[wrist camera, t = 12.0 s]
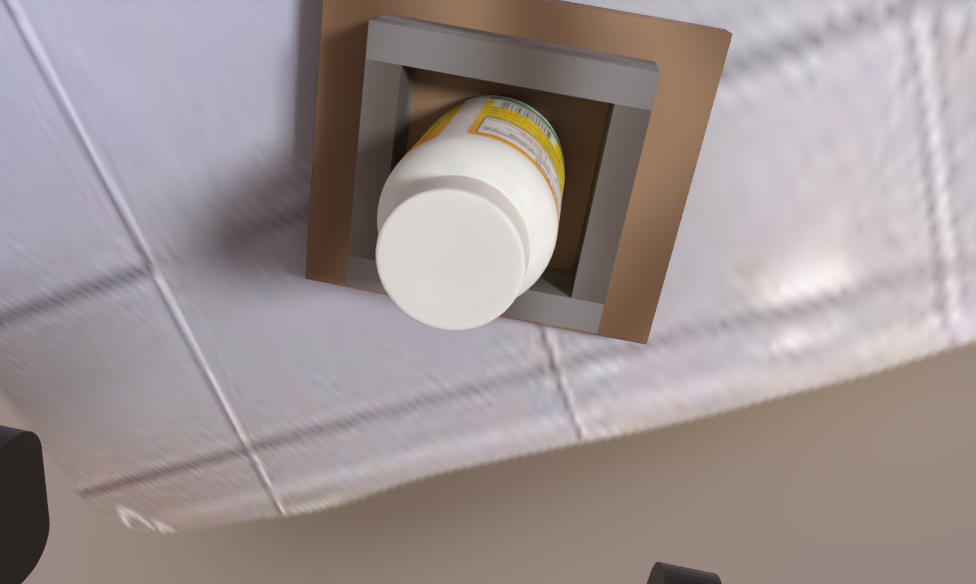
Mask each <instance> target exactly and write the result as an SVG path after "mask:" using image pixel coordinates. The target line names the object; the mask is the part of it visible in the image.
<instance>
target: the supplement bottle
mask: <svg viewBox="0 0 976 584" xmlns="http://www.w3.org/2000/svg"><path fill="white" fill-rule="evenodd" d="M564 183H565V158H564V153H563V149H562V146H561V143H560V141H559V139H558V136H557V134H556V133H555V131H554V129H553V128H552V126H551V125H550V124H549V122H548V121H547V120H546V119H545V118H544V117H543V116H542V115H541V114H540V113H539V112H537V111H536V110H535V109H533V108H532V107H531V106H529V105H527V104H525V103H523V102H521V101H519V100H516V99H513V98H510V97H505V96H498V95H485V96H478V97H473V98H470V99H467V100H464V101H462V102H460V103H458V104H456V105H455V106H453V107H451V108H450V109H449V110H447V111H446V112H445V113H444V114H443V115H442V116H441V117H440V118H439V119H438V120H437V121H436V122H435V123H434V124H433V125H432V126H431V128H430V129H429V130H428V131H427V132H426V133H425V134H424V135H423V136H422V138H421V139H420V140H419V141H418V142H417V143H416V144H415V145H414V146H413V147H412V148H411V149H410V150H409V151H408V152H407V153H406V155H405V156H404V157H403V158H402V159H401V161H400V162H399V163H398V164H397V165H396V167H395V168H394V170H393V171H392V173H391V174H390V176H389V177H388V179H387V181H386V183H385V185H384V188H383V190H382V193H381V196H380V200H379V205H378V212H377V228H378V238H377V244H376V265H377V271H378V274H379V278H380V280H381V282H382V285H383V287H384V289H385V290H386V292H387V293H388V295H389V296H390V298H391V299H392V300H393V302H394V303H395V304H396V305H397V306H398V307H399V308H400V309H401V310H402V311H403V312H404V313H406V314H407V315H409V316H410V317H411V318H413V319H415V320H417V321H419V322H421V323H423V324H425V325H428V326H430V327H434V328H439V329H444V330H467V329H472V328H476V327H479V326H482V325H484V324H486V323H489V322H491V321H493V320H494V319H496V318H497V317H498V316H500V315H501V314H503V313H504V312H505V311H506V310H507V309H508V308H509V306H510V305H511V304H512V303H513V302H514V300H515V299H516V297H518V296H520V295H521V294H523V293H524V292H525V291H526V290H527V289H529V288H530V287H531V286H532V285H533V284H534V283H535V282H536V281H537V280H538V278H539V277H540V276H541V274H542V273H543V272H544V270H545V268H546V267H547V265H548V263H549V261H550V259H551V257H552V254H553V251H554V248H555V244H556V240H557V233H558V226H559V219H560V211H561V202H562V195H563V188H564Z"/></svg>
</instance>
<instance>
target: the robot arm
mask: <svg viewBox="0 0 976 584" xmlns="http://www.w3.org/2000/svg"><path fill="white" fill-rule="evenodd" d="M49 526H50V525H49V512H48V503H47V494H46V484H45V475H44V465H43V455H42V447H41V442H40V440H39V438H38V436H37V435H36V434H35V433H33V432H30V431H25V430H21V429H15V428H10V427H6V426H1V425H0V584H21V583H22V582H23V581H24V580H25V579H26V578H27V577H28V575H29V574H30V573H31V572H32V570H33V569H34V568H35V566H36V564H37V563H38V561H39V559H40V557H41V555H42V553H43V551H44V548H45V545H46V542H47V538H48V533H49ZM647 584H721V581H720V578H719V577H718V575H717V574H715V573H710V572H705V571H700V570H696V569H691V568H685V567H681V566H676V565H671V564H666V563H661V562H657V563H655V565H654V566H653V568H652V570H651V573H650V576H649V579H648V582H647Z"/></svg>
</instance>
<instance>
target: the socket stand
mask: <svg viewBox="0 0 976 584" xmlns="http://www.w3.org/2000/svg"><path fill="white" fill-rule="evenodd" d="M731 37H732V33H730V32H728V31H727V30H725V29H720V28H714V27H709V26H703V25H697V24H692V23H686V22H680V21H675V20H669V19H663V18H658V17H652V16H646V15H641V14H635V13H629V12H624V11H618V10H612V9H607V8H601V7H595V6H590V5H584V4H578V3H573V2H567V1H561V0H323V6H322V22H321V38H320V54H319V70H318V86H317V102H316V118H315V134H314V150H313V166H312V182H311V198H310V214H309V230H308V246H307V262H306V278H305V279H310V280H315V281H320V282H326V283H331V284H336V285H341V286H346V287H351V288H357V289H362V290H367V291H372V292H377V293H382V294H388V293H387V292H386V290H385V289H384V287H383V285H382V282H381V280H380V278H379V274H378V271H377V265H376V244H377V238H378V228H377V212H378V205H379V200H380V196H381V193H382V190H383V188H384V185H385V183H386V181H387V179H388V177H389V176H390V174H391V173H392V171H393V170H394V168H395V167H396V165H397V164H398V163H399V162H400V161H401V159H402V158H403V157H404V156H405V155H406V153H407V152H408V151H409V150H410V149H411V148H412V147H413V146H414V145H415V144H416V143H417V142H418V141H419V140H420V139H421V138H422V136H423V135H424V134H425V133H426V132H427V131H428V130H429V129H430V128H431V126H432V125H433V124H434V123H435V122H436V121H437V120H438V119H439V118H440V117H441V116H442V115H443V114H444V113H445V112H446V111H447V110H449V109H450V108H451V107H453V106H455V105H456V104H458V103H460V102H462V101H464V100H467V99H470V98H473V97H478V96H485V95H498V96H505V97H510V98H513V99H516V100H519V101H521V102H523V103H525V104H527V105H529V106H531V107H532V108H533V109H535V110H536V111H537V112H539V113H540V114H541V115H542V116H543V117H544V118H545V119H546V120H547V121H548V122H549V124H550V125H551V126H552V128H553V129H554V131H555V133H556V134H557V136H558V139H559V141H560V143H561V146H562V149H563V153H564V158H565V183H564V188H563V195H562V202H561V211H560V219H559V226H558V233H557V240H556V244H555V248H554V251H553V254H552V257H551V259H550V261H549V263H548V265H547V267H546V268H545V270H544V272H543V273H542V274H541V276H540V277H539V278H538V280H537V281H536V282H535V283H534V284H533V285H532V286H531V287H530V288H529V289H527V290H526V291H525V292H524V293H523V294H521V295H520V296H518V297H516V299H515V300H514V302H513V303H512V304H511V305H510V306H509V308H508V309H507V310H506V311H505V312H504V313H503V314H501V315H500V316H501V317H507V318H512V319H517V320H522V321H527V322H532V323H538V324H543V325H548V326H553V327H558V328H563V329H569V330H574V331H579V332H584V333H589V334H594V335H600V336H605V337H610V338H615V339H620V340H625V341H631V342H636V343H641V344H647V340H648V337H649V333H650V330H651V326H652V322H653V319H654V315H655V312H656V308H657V304H658V301H659V297H660V294H661V290H662V286H663V283H664V279H665V275H666V272H667V268H668V265H669V261H670V257H671V254H672V250H673V247H674V243H675V239H676V236H677V232H678V229H679V225H680V221H681V218H682V214H683V211H684V207H685V203H686V200H687V196H688V193H689V189H690V185H691V182H692V178H693V174H694V171H695V167H696V164H697V160H698V156H699V153H700V149H701V146H702V142H703V138H704V135H705V131H706V128H707V124H708V120H709V117H710V113H711V110H712V106H713V102H714V99H715V95H716V92H717V88H718V84H719V81H720V77H721V73H722V70H723V66H724V63H725V59H726V55H727V52H728V48H729V45H730V41H731Z"/></svg>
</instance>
